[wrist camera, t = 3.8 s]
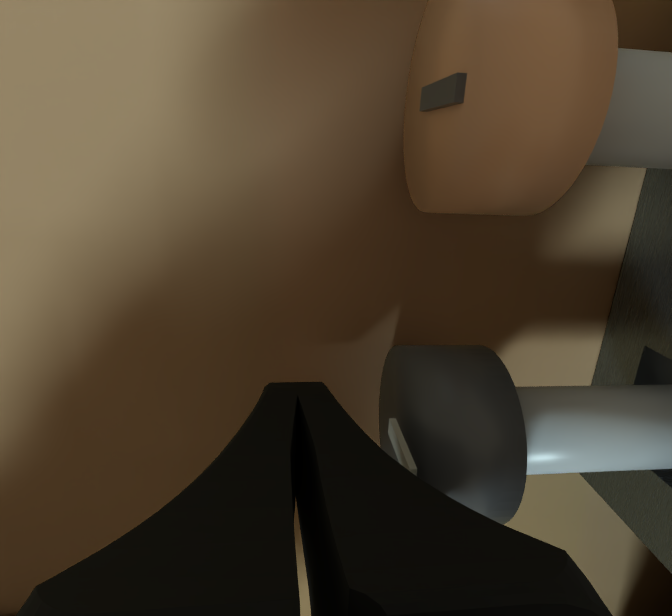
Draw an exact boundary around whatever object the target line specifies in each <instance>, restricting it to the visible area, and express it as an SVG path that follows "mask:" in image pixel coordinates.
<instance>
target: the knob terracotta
mask: <svg viewBox="0 0 672 616" xmlns="http://www.w3.org/2000/svg"><path fill="white" fill-rule="evenodd" d="M403 149H404V167H405V175H406V181H407V186H408V190H409V194H410V196H411V199H412V201H413V203H414V205H415V206H416V208H417V209H418V210H420V211H421V212H425V213H452V214H483V215H513V216H530V215H535V214H538V213H541V212H543V211H544V210H546V209H548V208H549V207H551V206H552V205H553V204H554V203H556V202H557V201H558V200H559V199H560V198H561V197H562V196H563V195H564V194H565V193H566V192H567V191H568V189H569V188H570V187H571V185H572V184H573V183H574V182H575V180H576V179H577V177H578V176H579V174H580V172H581V171H582V169H583V168H584V166H585V165H597V166H617V167H638V168H658V169H672V52H661V51H649V50H637V49H625V48H618V27H617V17H616V13H615V8H614V4H613V1H612V0H428V2H427V5H426V8H425V11H424V14H423V17H422V20H421V24H420V27H419V31H418V35H417V38H416V42H415V47H414V51H413V56H412V61H411V66H410V72H409V78H408V85H407V93H406V102H405V113H404V132H403Z"/></svg>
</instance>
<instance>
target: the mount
mask: <svg viewBox="0 0 672 616" xmlns="http://www.w3.org/2000/svg"><path fill="white" fill-rule="evenodd" d="M667 384H672V169H658V168H647V172H646V175H645V179H644V183H643V187H642V191H641V195H640V199H639V203H638V207H637V210H636V214H635V218H634V222H633V226H632V230H631V234H630V238H629V242H628V245H627V249H626V253H625V257H624V261H623V265H622V269H621V273H620V277H619V280H618V284H617V288H616V292H615V296H614V300H613V304H612V308H611V312H610V315H609V319H608V323H607V327H606V331H605V335H604V339H603V343H602V347H601V350H600V354H599V358H598V362H597V366H596V370H595V374H594V378H593V382H592V385H591V386H603V385H667ZM579 473H580V475H581V476H582V477H583V478H584V479H585V480H586V481H587V482H588V483H589V484H590V485H591V487H592V488H593V489H594V490H595V491H596V492H597V493H598V494H599V495H600V496H601V497H602V498H603V500H604V501H605V502H606V503H607V504H608V505H609V506H610V507H611V508H612V509H613V510H614V512H615V513H616V514H617V515H618V516H619V517H620V518H621V519H622V520H623V521H624V522H625V524H626V525H627V526H628V527H629V528H630V529H631V530H632V531H633V532H634V533H635V534H636V536H637V537H638V538H639V539H640V540H641V541H642V542H643V543H644V544H645V545H646V546H647V547H648V549H649V550H650V551H651V552H652V553H653V554H654V555H655V556H656V557H657V558H658V559H659V561H660V562H661V563H662V564H663V565H664V566H665V567H666V568H667V569H668V570H669V571H670V573H671V574H672V469H652V470H628V471H603V472H579Z"/></svg>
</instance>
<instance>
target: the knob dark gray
mask: <svg viewBox="0 0 672 616" xmlns="http://www.w3.org/2000/svg"><path fill="white" fill-rule="evenodd" d="M379 432H380V448H381V449H382V450H383V451H385V452H386V453H387V454H388V455H389V456H391V457H392V458H393V459H394V460H396V461H397V462H398V463H400V464H401V465H402V466H404V467H405V468H406V469H407V470H409V471H410V472H411V473H413V474H414V475H416V476H417V477H419V478H420V479H422V480H423V481H425V482H426V483H428V484H429V485H431V486H433V487H434V488H436V489H437V490H439V491H441V492H442V493H444V494H445V495H447V496H449V497H450V498H452V499H454V500H456V501H457V502H459V503H461V504H463V505H465V506H466V507H468V508H470V509H472V510H474V511H476V512H478V513H480V514H482V515H484V516H486V517H488V518H490V519H492V520H494V521H496V522H498V523H500V524H505V523H507V522H508V521H510V519H511V518H512V517H513V516H514V515H515V513H516V512H517V510H518V508H519V505H520V503H521V500H522V496H523V493H524V488H525V482H526V475H529V474H554V473H579V472H603V471H628V470H652V469H672V384H667V385H603V386H539V387H515V385H514V383H513V381H512V378H511V376H510V374H509V372H508V370H507V368H506V367H505V365H504V364H503V362H502V361H501V359H500V358H499V357H498V356H497V355H496V353H495V352H493V351H492V350H491V349H489V348H487V347H485V346H482V345H397V346H394V347H392V348H391V349H390V351H389V353H388V355H387V357H386V360H385V363H384V367H383V372H382V378H381V386H380V398H379Z"/></svg>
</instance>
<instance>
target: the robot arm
mask: <svg viewBox="0 0 672 616" xmlns="http://www.w3.org/2000/svg"><path fill="white" fill-rule="evenodd" d="M295 498H296V501H297V508H298V515H299V523H300V530H301V537H302V544H303V551H304V558H305V565H306V572H307V579H308V586H309V596H310V606H311V616H612V614H611V613H610V611H609V610H608V608H607V607H606V606H605V604H604V603H603V601H602V600H601V598H600V597H599V595H598V594H597V592H596V591H595V589H594V588H593V586H592V585H591V583H590V582H589V580H588V579H587V578H586V576H585V575H584V574H583V573H582V571H581V570H580V569H579V568H578V566H577V565H576V564H575V562H574V561H573V560H572V559H571V557H570V556H569V555H568V554H567V553H566V551H565V550H562V549H560V548H557V547H555V546H553V545H550V544H548V543H545V542H543V541H540V540H538V539H536V538H533V537H531V536H528V535H526V534H523V533H521V532H519V531H516V530H514V529H511V528H509V527H507V526H504V525H502V524H500V523H498V522H496V521H494V520H492V519H490V518H488V517H486V516H484V515H482V514H480V513H478V512H476V511H474V510H472V509H470V508H468V507H466V506H465V505H463V504H461V503H459V502H457V501H456V500H454V499H452V498H450V497H449V496H447V495H445V494H444V493H442V492H441V491H439V490H437V489H436V488H434V487H433V486H431V485H429V484H428V483H426V482H425V481H423V480H422V479H420V478H419V477H417V476H416V475H414V474H413V473H411V472H410V471H409V470H407V469H406V468H405V467H404V466H402V465H401V464H400V463H398V462H397V461H396V460H394V459H393V458H392V457H391V456H389V455H388V454H387V453H386V452H385V451H383V450H382V449H381V448H380V447H379V446H378V445H377V444H376V443H375V442H374V441H373V440H372V439H371V438H369V436H368V435H367V434H366V433H365V432H364V431H363V430H362V429H361V428H360V427H359V426H358V425H357V424H356V423H355V422H354V420H353V419H352V418H351V417H350V416H349V415H348V414H347V413H346V411H345V410H344V409H343V408H342V407H341V405H340V404H339V403H338V402H337V400H336V399H335V398H334V396H333V395H332V394H331V392H330V391H329V390H328V388H327V387H326V386H325V385H324V384H323V382H285V383H269V384H268V385H267V386H265V388H264V390H263V393H262V395H261V397H260V399H259V401H258V402H257V404H256V406H255V407H254V409H253V411H252V412H251V414H250V415H249V417H248V418H247V420H246V421H245V423H244V424H243V426H242V427H241V428H240V430H239V431H238V432H237V434H236V435H235V436H234V437H233V439H232V440H231V441H230V442H229V444H228V445H227V446H226V447H225V449H224V450H223V451H222V452H221V453H220V455H219V456H218V457H217V458H216V459H215V460H214V461H213V462H212V463H211V464H210V465H209V467H208V468H207V469H206V470H205V471H204V472H203V473H202V474H201V475H200V476H199V477H198V478H197V479H196V480H194V481H193V482H192V483H191V484H190V485H189V486H188V487H187V488H186V489H184V490H183V491H182V492H181V493H180V494H179V495H178V496H176V497H175V498H174V499H173V500H172V501H170V502H169V503H168V504H167V505H165V506H164V507H163V508H162V509H161V510H159V511H158V512H157V513H155V514H154V515H152V516H151V517H150V518H148V519H147V520H145V521H144V522H143V523H141V524H140V525H138V526H137V527H135V528H134V529H132V530H131V531H129V532H128V533H126V534H125V535H123V536H122V537H120V538H119V539H117V540H116V541H114V542H113V543H111V544H109V545H108V546H106V547H105V548H103V549H101V550H100V551H98V552H96V553H95V554H93V555H91V556H89V557H88V558H86V559H84V560H82V561H81V562H79V563H77V564H75V565H74V566H72V567H70V568H68V569H67V570H65V571H63V572H61V573H60V574H58V575H56V576H54V577H53V578H51V579H49V580H47V581H45V582H43V583H41V584H39V585H37V586H36V587H35V588H34V590H33V591H32V593H31V595H30V596H29V598H28V599H27V601H26V602H25V604H24V605H23V606H22V608H21V609H20V610H19V612H18V613H17V615H16V616H300V598H299V587H298V576H297V563H296V550H295V536H294V512H295Z"/></svg>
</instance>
